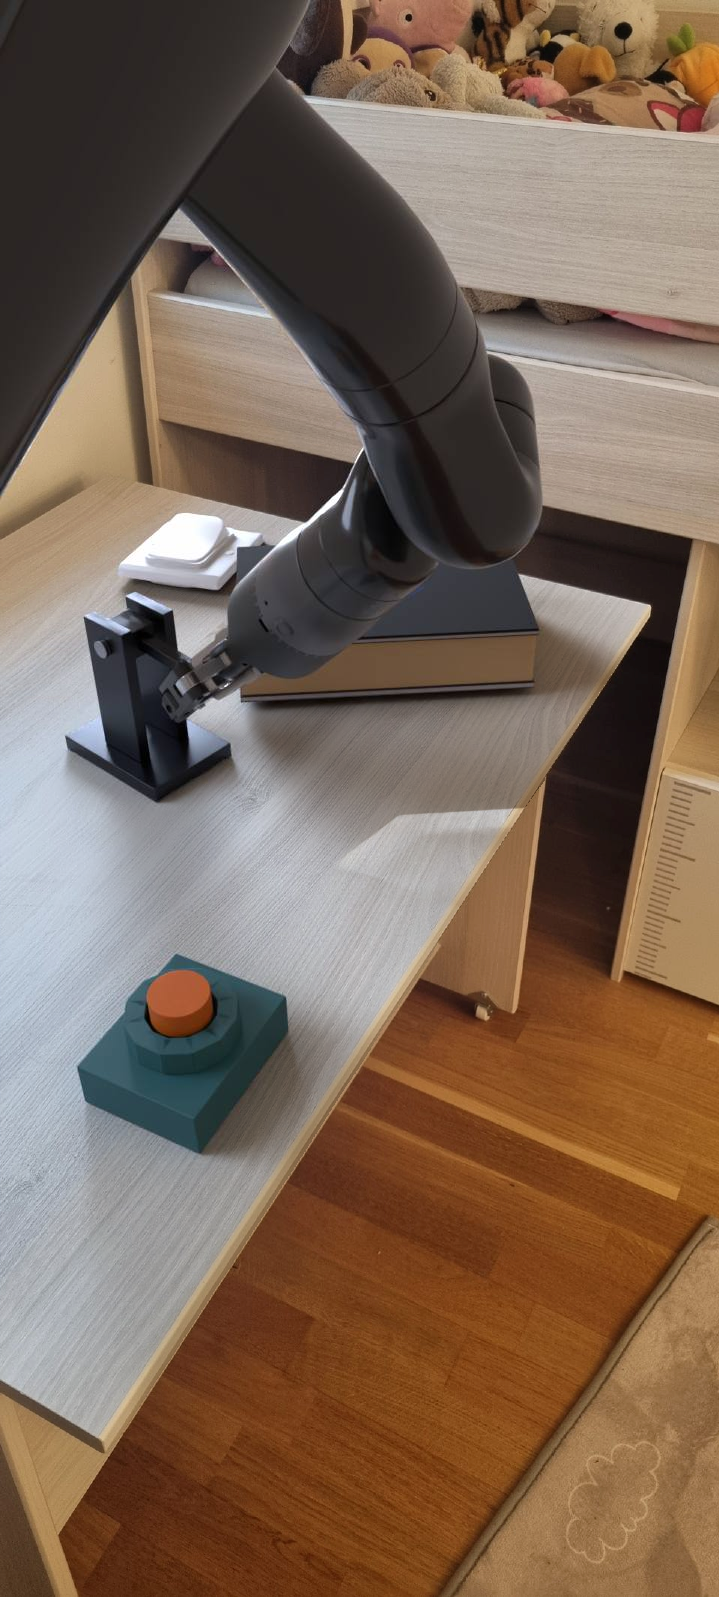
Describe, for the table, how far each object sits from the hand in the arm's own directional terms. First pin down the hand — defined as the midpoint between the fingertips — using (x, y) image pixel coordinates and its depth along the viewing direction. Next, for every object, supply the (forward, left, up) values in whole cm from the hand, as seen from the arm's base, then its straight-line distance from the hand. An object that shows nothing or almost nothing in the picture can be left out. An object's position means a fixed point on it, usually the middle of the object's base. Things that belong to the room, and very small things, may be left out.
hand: (199, 694), depth 88 cm
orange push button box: (-19, -19, -9) cm, 29 cm away
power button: (-19, -19, -4) cm, 28 cm away
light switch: (+25, +29, -9) cm, 40 cm away
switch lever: (0, +3, +1) cm, 3 cm away
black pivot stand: (0, +7, -9) cm, 11 cm away
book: (+24, +3, -9) cm, 26 cm away
